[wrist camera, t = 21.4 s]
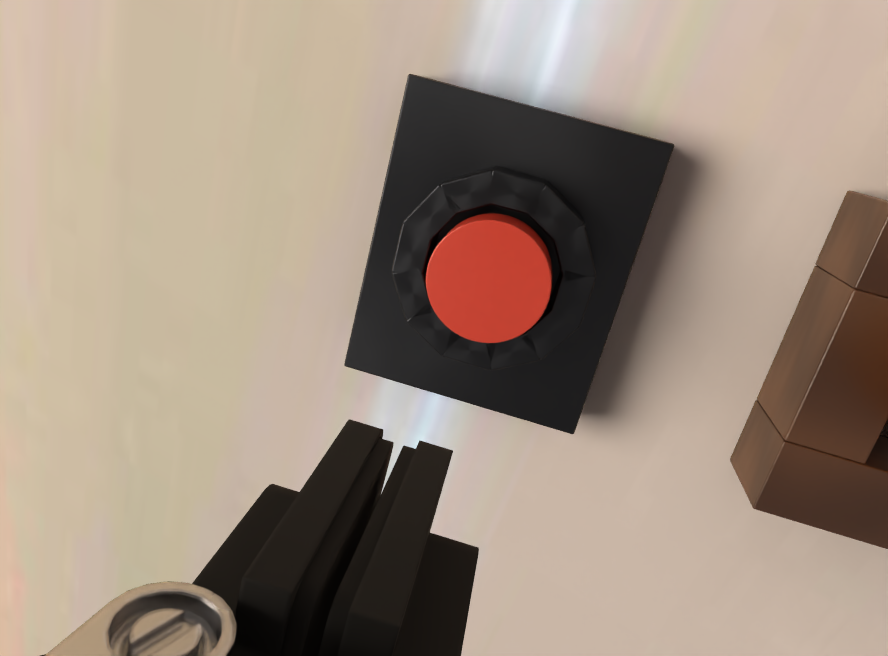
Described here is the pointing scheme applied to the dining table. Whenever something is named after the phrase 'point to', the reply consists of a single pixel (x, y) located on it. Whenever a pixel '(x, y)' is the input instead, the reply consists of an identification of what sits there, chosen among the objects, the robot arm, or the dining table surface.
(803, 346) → the holder
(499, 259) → the button
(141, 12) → the dining table surface
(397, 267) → the panel
